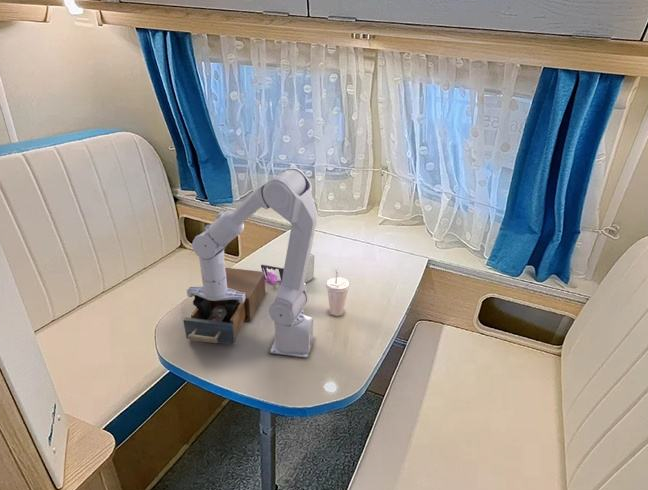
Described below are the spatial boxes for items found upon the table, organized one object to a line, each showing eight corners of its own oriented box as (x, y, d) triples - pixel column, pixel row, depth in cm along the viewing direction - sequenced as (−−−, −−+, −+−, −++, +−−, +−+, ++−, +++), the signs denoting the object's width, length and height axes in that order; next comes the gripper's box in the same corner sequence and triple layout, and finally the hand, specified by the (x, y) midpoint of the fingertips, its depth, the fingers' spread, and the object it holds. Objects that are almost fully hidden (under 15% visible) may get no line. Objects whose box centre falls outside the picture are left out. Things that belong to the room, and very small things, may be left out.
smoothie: (321, 308, 124) (323, 265, 116) (342, 303, 126) (344, 261, 118) (330, 320, 119) (332, 276, 111) (351, 315, 121) (354, 272, 114)
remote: (232, 314, 116) (231, 305, 114) (221, 332, 109) (220, 323, 107) (217, 313, 116) (216, 303, 114) (206, 330, 109) (204, 321, 108)
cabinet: (250, 321, 117) (248, 298, 113) (202, 316, 118) (199, 292, 114) (265, 293, 129) (264, 271, 125) (222, 288, 130) (219, 266, 126)
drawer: (228, 355, 103) (226, 336, 100) (179, 349, 104) (175, 330, 101) (250, 314, 118) (249, 296, 115) (207, 308, 119) (205, 291, 116)
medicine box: (304, 274, 140) (304, 250, 136) (314, 278, 138) (314, 254, 133) (286, 283, 135) (286, 258, 130) (297, 288, 133) (297, 263, 128)
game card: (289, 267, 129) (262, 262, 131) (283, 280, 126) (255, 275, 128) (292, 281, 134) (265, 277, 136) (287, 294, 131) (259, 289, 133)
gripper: (247, 271, 108) (250, 315, 115) (192, 265, 109) (199, 309, 116) (238, 286, 102) (242, 331, 109) (180, 279, 103) (187, 324, 110)
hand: (219, 321), depth 112 cm, fingers closed on drawer, 6 cm apart
